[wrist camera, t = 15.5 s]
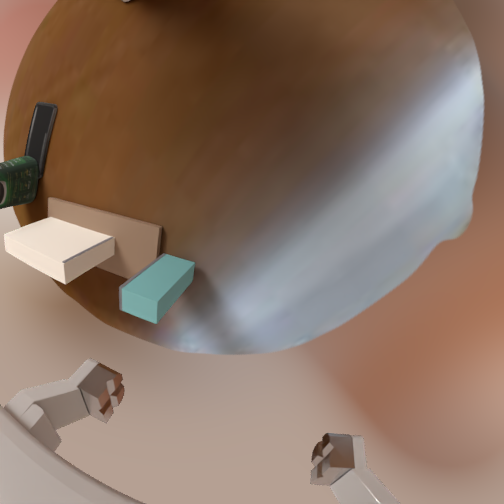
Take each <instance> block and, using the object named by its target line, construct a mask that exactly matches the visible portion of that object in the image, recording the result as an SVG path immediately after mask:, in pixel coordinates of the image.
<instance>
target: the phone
mask: <svg viewBox="0 0 504 504" xmlns="http://www.w3.org/2000/svg"><path fill="white" fill-rule="evenodd" d="M56 112H57V105H56V104H50V103H44V102H38V103H37V104H36V106H35V109H34V113H33V117H32V121H31V125H30V130H29V134H28V139H27V144H26V150H25V155H24V156H30V157H32V158H34V159H35V160H36V161H37V163H38V166H39V176H38V179H40V178H42V176H43V171H44V165H45V159H46V154H47V149H48V144H49V140H50V135H51V131H52V127H53V123H54V119H55V116H56Z"/></svg>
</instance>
